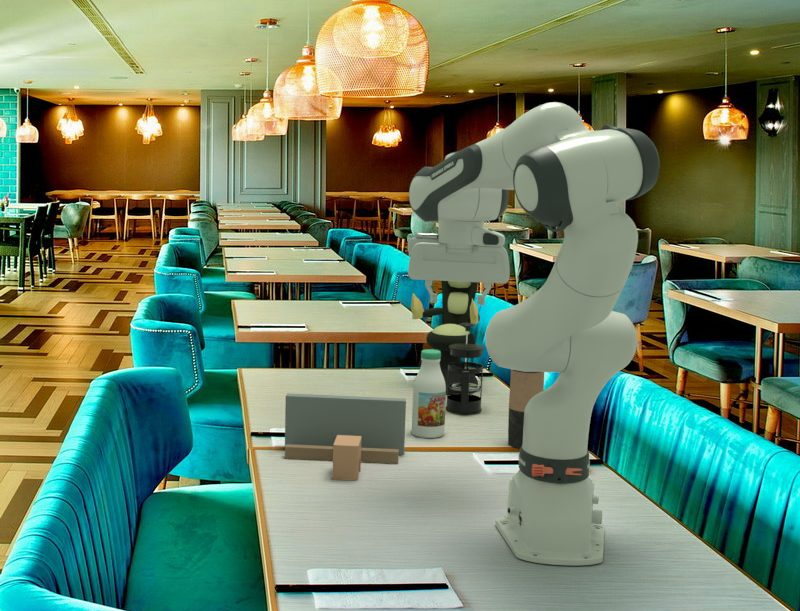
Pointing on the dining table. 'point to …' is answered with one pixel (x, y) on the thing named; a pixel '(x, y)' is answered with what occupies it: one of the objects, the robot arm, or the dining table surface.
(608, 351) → the robot arm
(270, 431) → the dining table surface
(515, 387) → the travel mug
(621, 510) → the dining table surface
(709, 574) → the dining table surface
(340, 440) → the block
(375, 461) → the cleat board
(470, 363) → the french press
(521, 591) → the dining table surface
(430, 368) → the milk bottle
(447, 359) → the miniature padded chair
